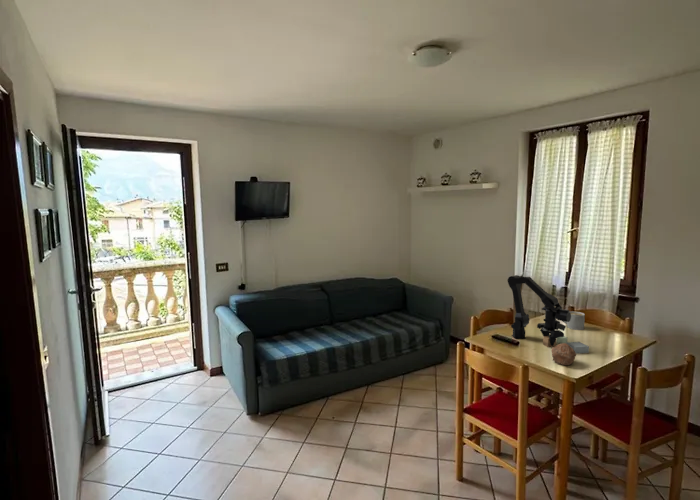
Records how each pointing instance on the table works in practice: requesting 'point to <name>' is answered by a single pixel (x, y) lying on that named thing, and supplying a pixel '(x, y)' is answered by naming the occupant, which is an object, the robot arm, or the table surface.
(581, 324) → the coffee mug
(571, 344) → the base block
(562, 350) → the decorative rock
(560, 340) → the sage block
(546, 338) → the walnut cube
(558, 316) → the robot arm
